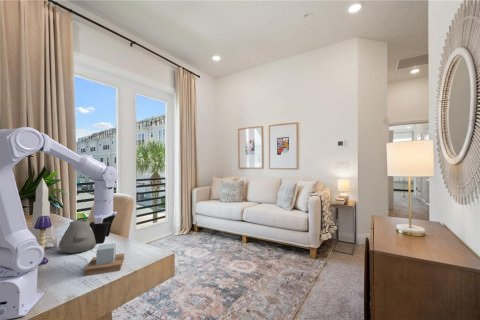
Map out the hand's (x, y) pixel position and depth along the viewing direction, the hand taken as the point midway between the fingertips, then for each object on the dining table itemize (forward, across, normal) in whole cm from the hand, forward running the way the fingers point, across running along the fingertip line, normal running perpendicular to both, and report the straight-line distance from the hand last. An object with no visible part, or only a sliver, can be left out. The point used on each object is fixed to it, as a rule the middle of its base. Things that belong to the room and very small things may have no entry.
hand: (102, 239), depth 75 cm
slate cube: (+7, 0, -1) cm, 7 cm away
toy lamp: (+10, +11, +21) cm, 25 cm away
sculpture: (+10, +28, +28) cm, 41 cm away
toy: (+10, +23, +13) cm, 28 cm away
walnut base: (+10, 0, -1) cm, 10 cm away
